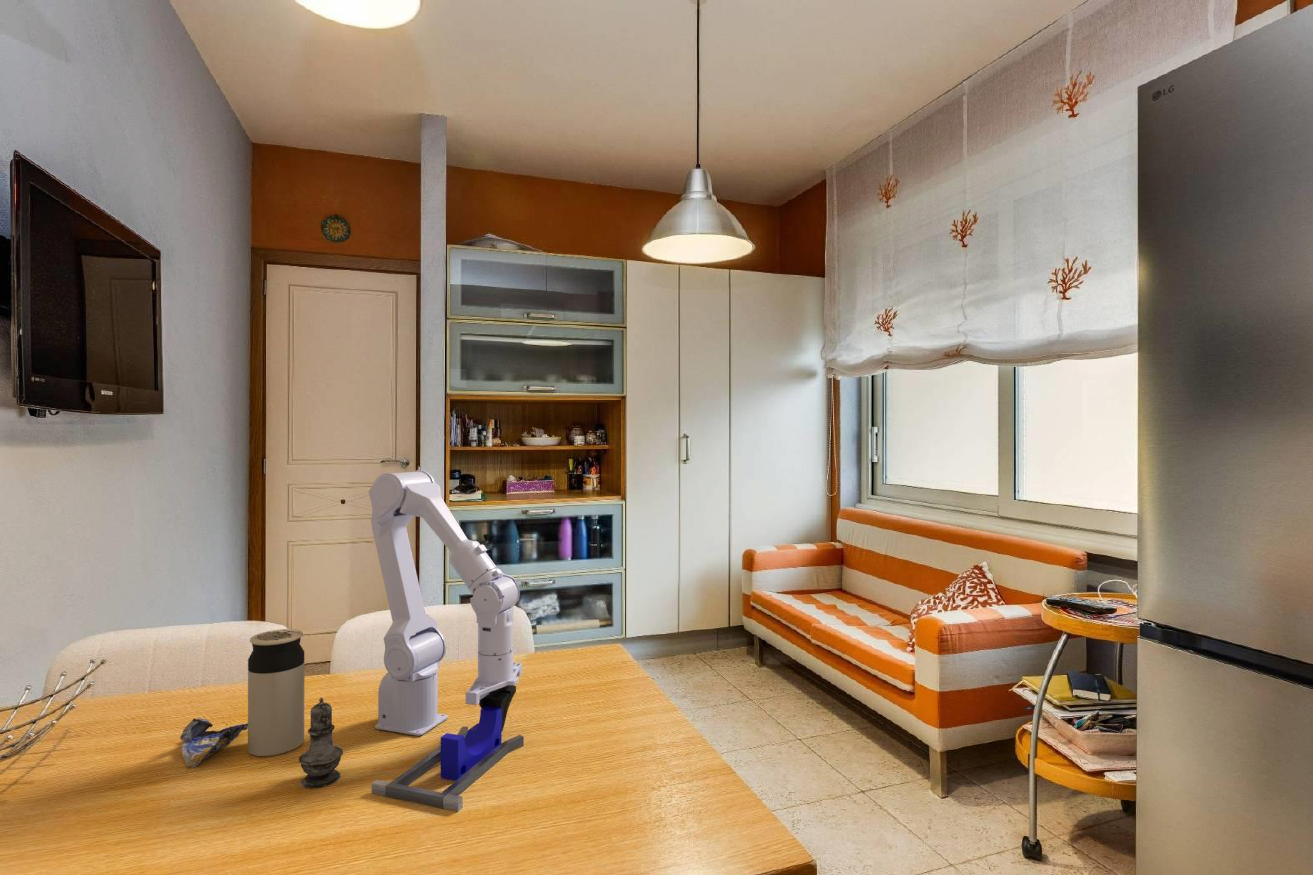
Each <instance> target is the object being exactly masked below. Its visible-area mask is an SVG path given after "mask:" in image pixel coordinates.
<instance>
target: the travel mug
mask: <svg viewBox="0 0 1313 875" xmlns="http://www.w3.org/2000/svg"><path fill="white" fill-rule="evenodd" d="M303 635H304V633H303V631H302V630H300V629H294V628H285V629H284V628H282V629H273V630H267V631H264V632H260V633H256V634H255V635H253V636H251V637H250V639H249V642H250V643H251V645H252V647H251V648H252V651H251V653H250V655H249V657H248V659H247V723H248V728H247V752H248V753H249V754H251V755H254V756H257V757H273V756H277V755H282V754H286V753H289V752H291V751H293V750H295V749H296V748H298V747H300V746H301V745H302V744H303V743H304V742H305V650H304V648H303V647H302V645H301V639H302V637H303Z"/></svg>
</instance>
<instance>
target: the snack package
mask: <svg viewBox="0 0 1313 875" xmlns="http://www.w3.org/2000/svg"><path fill="white" fill-rule="evenodd" d="M225 725H226V726H228V723H227V724H225ZM213 726H214V725H213V723H212V722H210V721H209V720H208V719H207V718H202V717H199V718H193V719H192V720H191V721H190V722H189V723H188V724H187V725H186V726H185V727H184V728H183V730H182V733H181V734H180V736H179V738H180V739H179V740H180V741H183V743H182V747H181V754H182V755H181V756H182V757H183V759H184V763H185V765H186V767H188V768H196V767H198V766H199V764H200V763H201V762H202V760H205V759H206V758H208V757H209V756H212V755H213V754H215V753H216V752H218V751H220V750H221V749H224V748H225V747H228V746H229V745H230V744H231V743H232V742H233V741H234V740H235V739H236V738H237V736H239V735H240V733H241V732H243V731H248V722H247V723H244V724H243V723H242V724H237V725H232V726H229V727H225V728H223V729H221V730H208V729H209V728H212V727H213ZM207 748H210V749H209V750H208V751H207V752H206V753H205V750H206V749H207ZM202 753H205V754H204V755H203V756H201V758H200V759H198V760H197V761H195V762H193V763H191V764H189V762H191V761H192V760H194V758H196V757H198V756H199V755H200V754H202Z"/></svg>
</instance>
